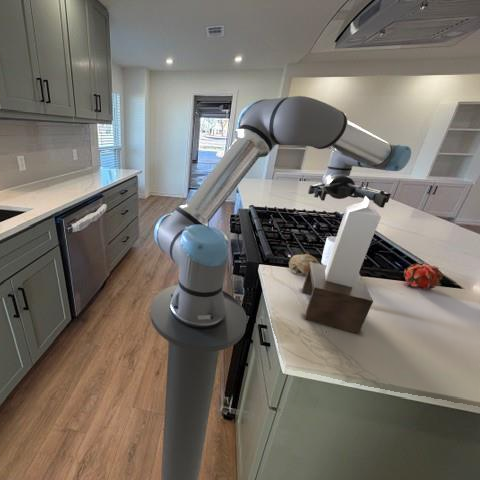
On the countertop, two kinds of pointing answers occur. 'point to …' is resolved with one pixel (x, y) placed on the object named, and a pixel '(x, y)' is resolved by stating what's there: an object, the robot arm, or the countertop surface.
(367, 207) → the milk
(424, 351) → the countertop surface
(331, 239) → the white cup
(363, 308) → the dark wooden crate
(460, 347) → the countertop surface
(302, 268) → the tan rounded lump
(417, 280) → the dragon fruit
